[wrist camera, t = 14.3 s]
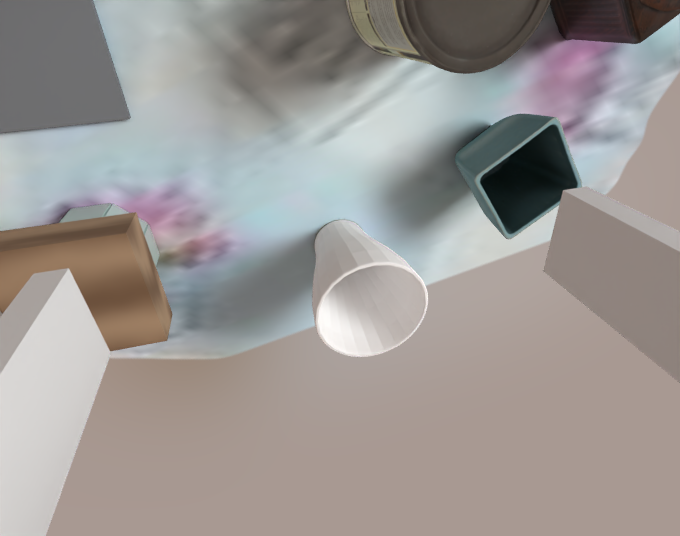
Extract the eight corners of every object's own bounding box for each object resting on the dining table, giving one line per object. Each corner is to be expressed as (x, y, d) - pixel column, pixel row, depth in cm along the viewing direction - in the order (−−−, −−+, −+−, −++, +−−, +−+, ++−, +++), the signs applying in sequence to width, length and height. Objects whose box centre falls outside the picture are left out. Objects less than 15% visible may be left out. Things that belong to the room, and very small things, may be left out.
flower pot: (466, 208, 49) (508, 242, 42) (432, 151, 44) (473, 179, 37) (529, 160, 48) (584, 187, 40) (501, 97, 43) (558, 114, 35)
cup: (311, 292, 50) (334, 372, 39) (281, 220, 44) (298, 289, 33) (390, 263, 51) (436, 333, 39) (371, 187, 45) (418, 244, 34)
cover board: (-8, 232, 33) (-35, 256, 30) (136, 212, 35) (125, 233, 31) (52, 335, 39) (35, 365, 36) (172, 313, 41) (167, 340, 37)
